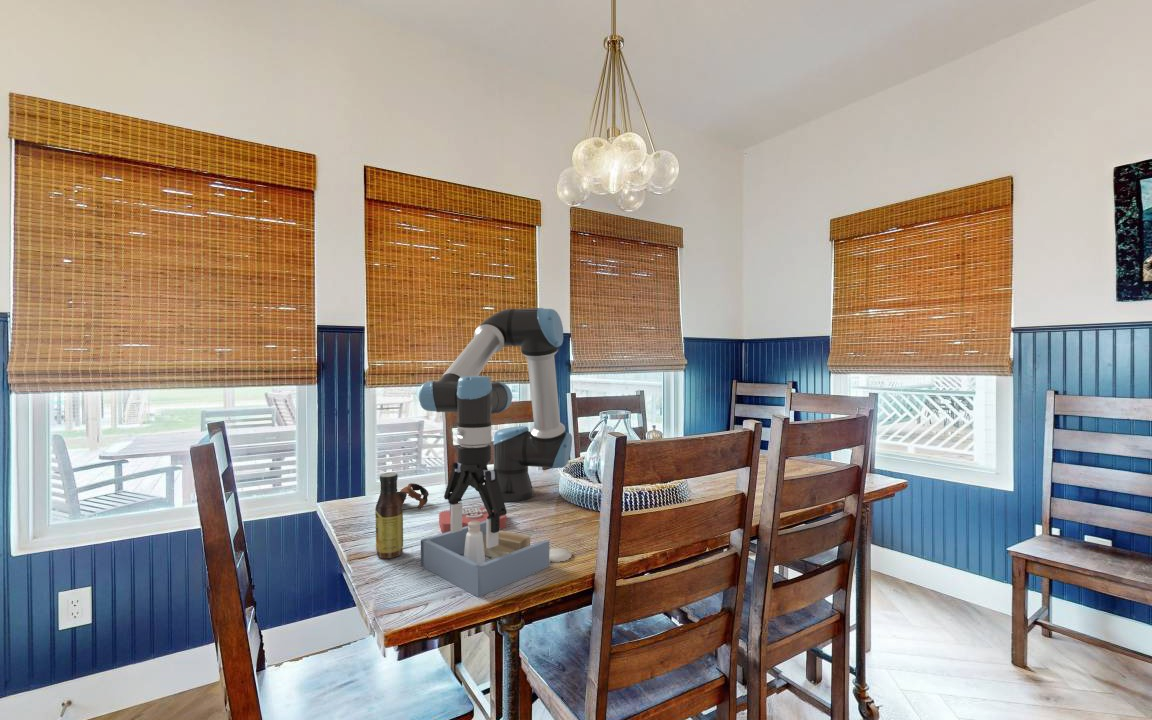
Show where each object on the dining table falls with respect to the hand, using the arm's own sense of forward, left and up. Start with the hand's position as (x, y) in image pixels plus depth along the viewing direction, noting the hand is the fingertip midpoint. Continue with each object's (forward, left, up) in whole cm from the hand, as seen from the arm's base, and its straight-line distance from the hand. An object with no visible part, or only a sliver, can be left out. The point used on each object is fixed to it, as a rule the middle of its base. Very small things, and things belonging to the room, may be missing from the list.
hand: (473, 538), depth 116 cm
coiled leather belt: (-13, -53, -8) cm, 55 cm away
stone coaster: (-19, +8, -7) cm, 22 cm away
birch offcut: (-10, 0, -8) cm, 13 cm away
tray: (-3, 0, -7) cm, 8 cm away
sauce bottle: (+9, -22, -8) cm, 25 cm away
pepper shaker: (0, 0, -8) cm, 8 cm away
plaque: (-18, -25, -8) cm, 31 cm away
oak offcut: (-10, 0, -5) cm, 11 cm away
